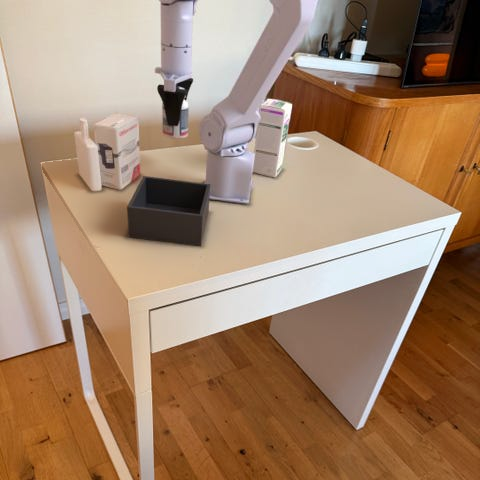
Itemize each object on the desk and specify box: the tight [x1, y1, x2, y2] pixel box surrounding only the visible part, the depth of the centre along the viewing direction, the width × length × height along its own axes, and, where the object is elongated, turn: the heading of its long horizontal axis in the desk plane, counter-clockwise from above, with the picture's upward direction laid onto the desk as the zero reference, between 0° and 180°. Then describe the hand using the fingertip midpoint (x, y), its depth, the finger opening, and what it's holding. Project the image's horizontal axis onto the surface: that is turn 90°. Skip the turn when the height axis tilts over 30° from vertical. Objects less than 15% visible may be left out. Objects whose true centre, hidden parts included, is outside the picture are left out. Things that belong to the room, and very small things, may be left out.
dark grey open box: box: [126, 175, 211, 247], centre depth 79 cm, size 12×12×6 cm
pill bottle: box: [161, 87, 190, 140], centre depth 92 cm, size 5×5×9 cm
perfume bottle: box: [73, 117, 102, 192], centre depth 86 cm, size 8×2×12 cm, turn 32°
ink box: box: [93, 112, 141, 191], centre depth 88 cm, size 8×5×12 cm, turn 162°
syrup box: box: [253, 98, 293, 178], centre depth 99 cm, size 6×6×14 cm
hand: (175, 120), depth 93 cm, fingers closed on pill bottle, 5 cm apart
